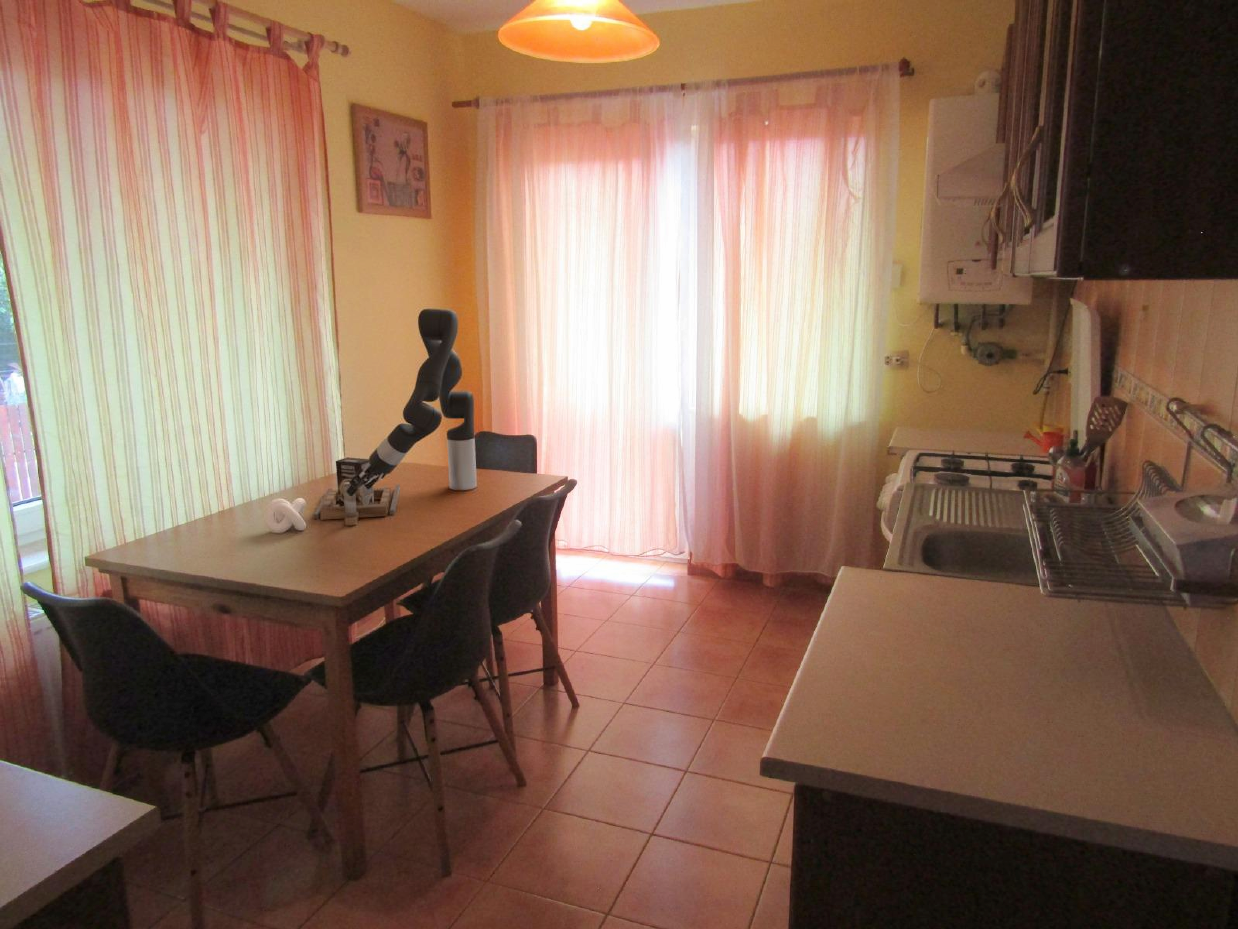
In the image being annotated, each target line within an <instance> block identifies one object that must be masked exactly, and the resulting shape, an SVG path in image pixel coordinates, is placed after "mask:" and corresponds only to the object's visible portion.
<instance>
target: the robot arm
mask: <svg viewBox="0 0 1238 929" xmlns="http://www.w3.org/2000/svg"><path fill="white" fill-rule="evenodd" d="M417 318H418V319H417V324H418V325H417V326H418V331H419V334H420V338H421V340H422V342H423V344H424V347H425V349H426V353H427V356H428V358H426V359H425V360H424V362H423V363H422V364H421V365H420V367H419V369H418V371H417V375H416V379H415V385H414V389H413V392H412V394H411V396H410V398H409V399H408V401H407V402H406V404H405V406H404V408H403V411H402V418H403V420H404V421H405V422H406V423H403V422H402V423H399V424H397V425H396V426H395V428H394V429H393V430H392V431H391V432H390V433H389V434H388V435H387V437H386V438H384V439H383V440H382V441H381V442H380V444H379V445H377V446H376V449H374V450H373V452H372V453H370V456H369V457H368V459H369V462H370V465H369V466H367V467H366V468H365V470H363V469H361V470H360V471H359V472H358V473H357V474H356V475H355V476H354V478H353V479H352V480H351V481H350V482H349V483H350V484H351V486H350V487H349V488H348V489H347V490H346V492H347V494H348V495H349V496H353V495H354V494H355V493H356V491H357V490H358V489H359V488H360V487H361V486H362V485H364V486H365V487H366V488H367V489H370V488H371V487H372V486H373V487H374V485H375V484H376V483H377V482H379V481H380V480H381V479H385V477H386V476H387V475H389V474H391V473H392V472H393V471H394V470H395V469H396V468H397V467H398V466H399V464H400V463H401V462H402V461H403V459H404V458H405V457H406V455H407V453H408V452H409V451H410V450H412V448H413V446H414V445H415V444H417V443H418V442H420V441H422V440H423V439H425V438H426V437H428V436H430V435H432V433H434V432H435V431H436V430H438V428H439V427H440V425H441V423H442V418H443V417H444V418H446V419H448V420H449V419H451V420H453V419H455V420H458V419H459V420H460V419H463V422H462V423H460V424H459V425H457V426H454V427H452V428H450V429H448V430H447V431H446V443H447V444H446V447H447V460H448V462H447V463H448V482H449V484H448V485H449V489H450V490H454V491H468V490H473V489H476V488H477V483H478V482H477V463H476V461H477V460H476V459H477V458H476V442H475V440H476V438H475V423H474V422H475V419H474V418H475V414H474V413H475V401H474V399H475V398H474V395H473V393H472V392H471V391H470V390H467V391H466V390H458V391H457V390H456V391H455V390H453V389H454V388H455V387H456V386H457V385H458V384H459V382H460V380H461V379H462V377H463V367H462V364H461V359H460V357H459V355H458V354H457V352H456V351H455V350H454V349H453V348H454V345H455V342H456V339H457V338H456V337H457V334H458V331H459V319H458V314H457V313H456V311H454V310H451V309H444V308H442V309H441V308H424V309H422V310H421V311H420V312H419V314H418V316H417ZM452 390H453V391H452ZM438 399H439V405H440V406H439V407H440V410H441V411H440V410H438V409H437V408H435V407H434V406H431V405H430V404H428V403H433V402H436V401H437V400H438ZM365 479H367V481H365ZM357 482H358V483H357Z"/></svg>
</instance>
